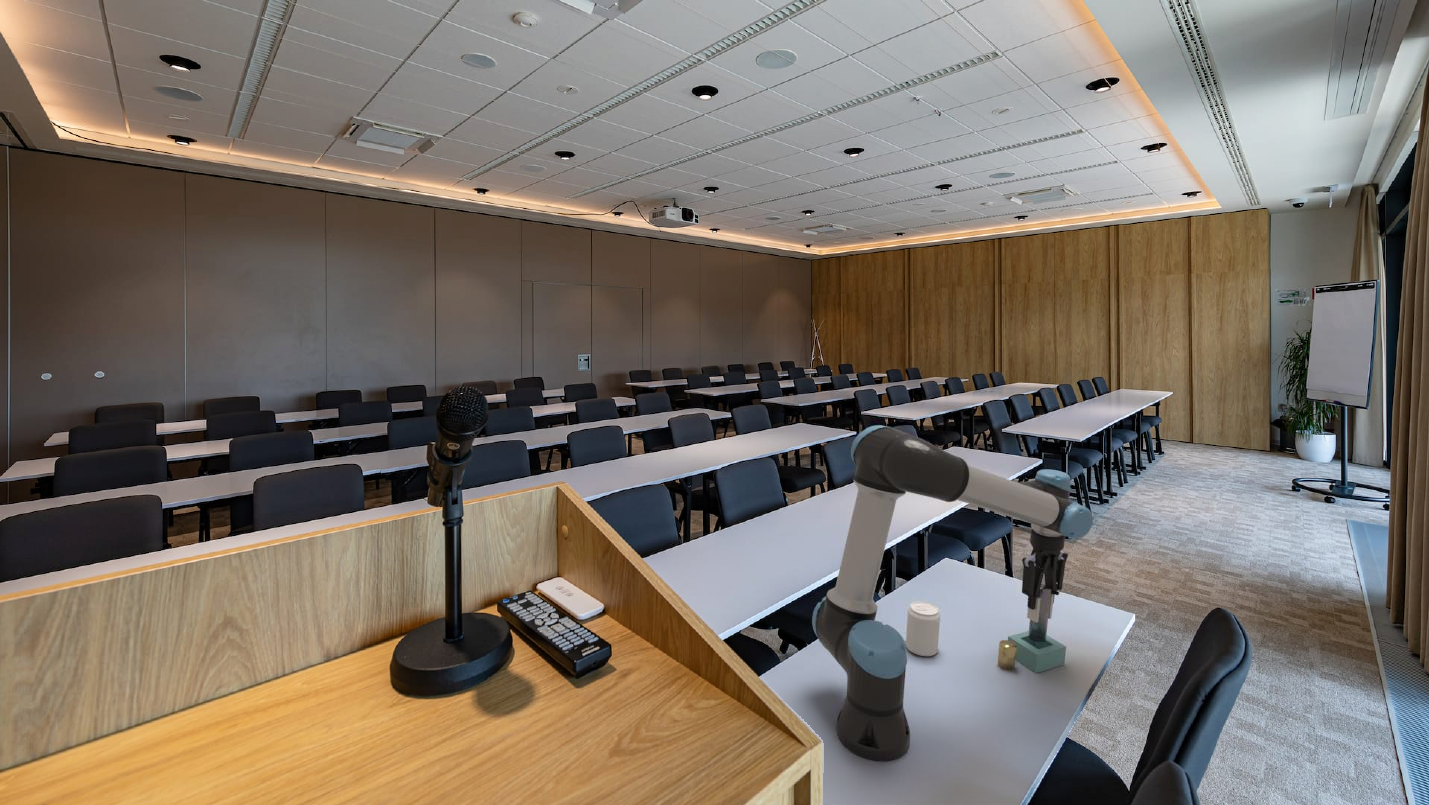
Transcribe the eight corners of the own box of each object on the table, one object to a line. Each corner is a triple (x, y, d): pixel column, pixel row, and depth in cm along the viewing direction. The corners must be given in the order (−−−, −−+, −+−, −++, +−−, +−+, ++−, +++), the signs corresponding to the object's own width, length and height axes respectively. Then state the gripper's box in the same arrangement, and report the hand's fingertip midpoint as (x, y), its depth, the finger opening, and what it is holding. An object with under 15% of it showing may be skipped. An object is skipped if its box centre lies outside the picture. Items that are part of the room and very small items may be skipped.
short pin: (1006, 672, 152) (1008, 650, 151) (993, 663, 156) (995, 642, 155) (1018, 668, 154) (1020, 647, 153) (1005, 660, 157) (1007, 639, 156)
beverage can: (939, 660, 157) (943, 617, 155) (907, 656, 159) (910, 613, 157) (935, 643, 165) (938, 601, 163) (904, 639, 167) (906, 598, 165)
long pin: (1038, 643, 154) (1043, 592, 152) (1024, 635, 158) (1029, 585, 156) (1049, 640, 156) (1054, 589, 153) (1036, 632, 159) (1041, 582, 157)
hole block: (1035, 673, 152) (1037, 654, 151) (1006, 653, 160) (1008, 636, 159) (1064, 664, 156) (1066, 646, 155) (1034, 646, 164) (1035, 628, 163)
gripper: (1036, 542, 145) (1027, 632, 149) (1085, 532, 152) (1075, 618, 156) (1010, 531, 152) (1002, 617, 156) (1058, 522, 159) (1050, 605, 163)
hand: (1039, 617), depth 156 cm, fingers closed on long pin, 4 cm apart
